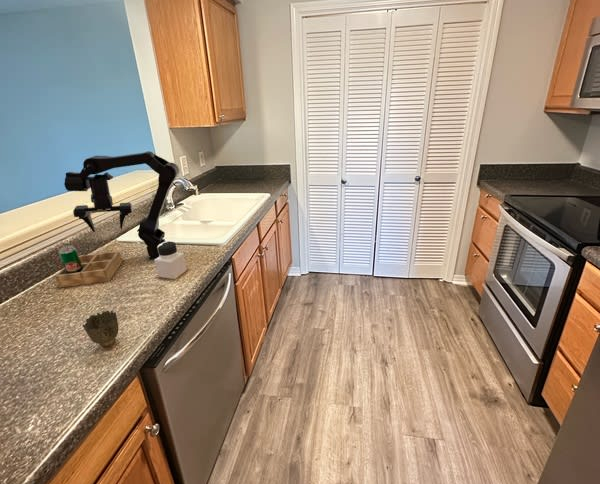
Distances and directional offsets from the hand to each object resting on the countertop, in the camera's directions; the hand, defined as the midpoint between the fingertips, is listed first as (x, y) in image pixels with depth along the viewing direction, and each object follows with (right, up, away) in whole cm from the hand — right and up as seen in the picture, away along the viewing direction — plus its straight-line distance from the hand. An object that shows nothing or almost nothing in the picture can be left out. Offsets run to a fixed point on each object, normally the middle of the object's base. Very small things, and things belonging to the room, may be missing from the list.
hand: (108, 230), depth 125 cm
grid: (-3, -16, -5) cm, 17 cm away
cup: (+25, -31, -41) cm, 57 cm away
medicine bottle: (+28, -16, -8) cm, 34 cm away
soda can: (-6, -18, -9) cm, 21 cm away
